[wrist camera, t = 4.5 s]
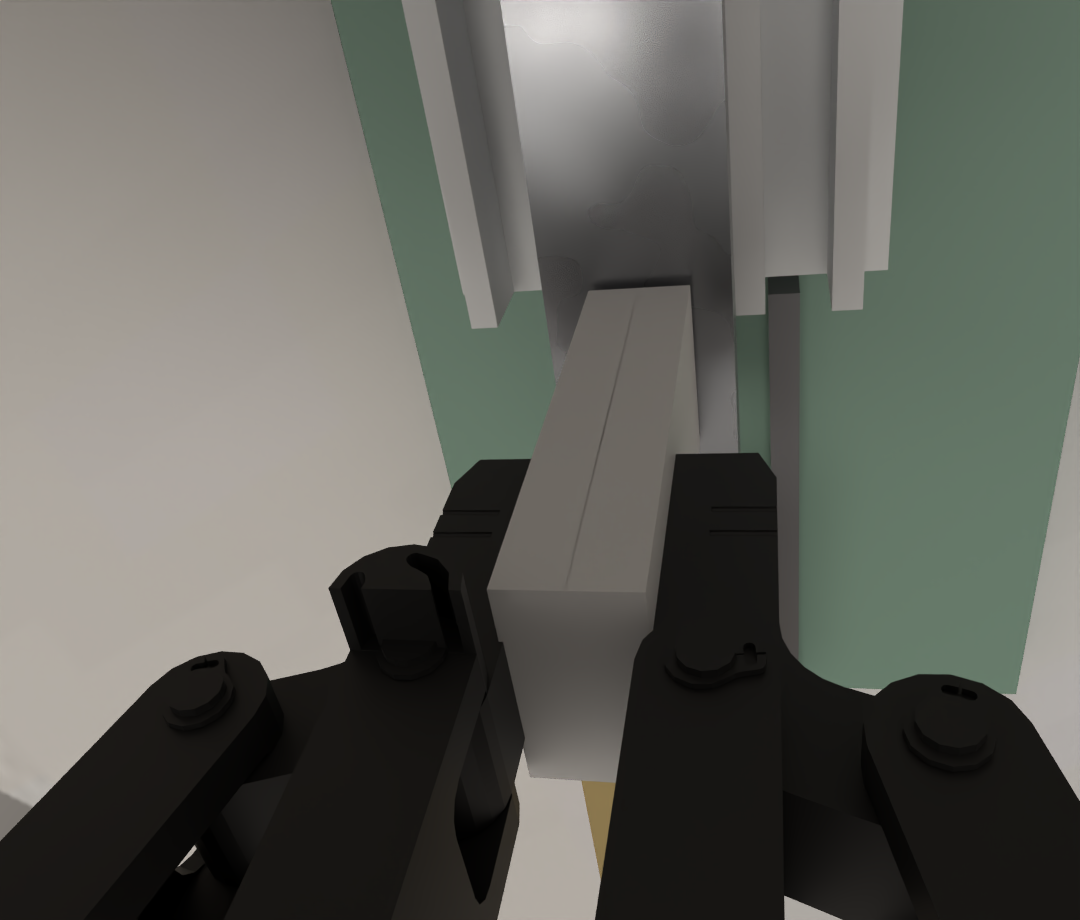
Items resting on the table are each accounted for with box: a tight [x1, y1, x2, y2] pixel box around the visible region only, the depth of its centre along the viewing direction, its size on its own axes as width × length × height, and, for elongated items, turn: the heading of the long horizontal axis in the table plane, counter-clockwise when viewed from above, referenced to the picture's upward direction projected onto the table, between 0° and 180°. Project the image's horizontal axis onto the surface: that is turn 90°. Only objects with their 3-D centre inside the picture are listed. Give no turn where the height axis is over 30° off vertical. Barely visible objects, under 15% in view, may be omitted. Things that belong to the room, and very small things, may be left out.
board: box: [331, 0, 1080, 694], centre depth 17 cm, size 29×14×7 cm, turn 9°
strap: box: [500, 0, 741, 454], centre depth 13 cm, size 18×3×2 cm, turn 9°
